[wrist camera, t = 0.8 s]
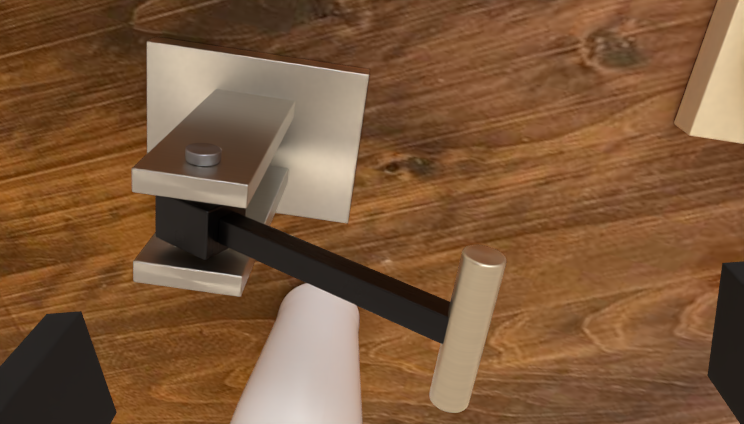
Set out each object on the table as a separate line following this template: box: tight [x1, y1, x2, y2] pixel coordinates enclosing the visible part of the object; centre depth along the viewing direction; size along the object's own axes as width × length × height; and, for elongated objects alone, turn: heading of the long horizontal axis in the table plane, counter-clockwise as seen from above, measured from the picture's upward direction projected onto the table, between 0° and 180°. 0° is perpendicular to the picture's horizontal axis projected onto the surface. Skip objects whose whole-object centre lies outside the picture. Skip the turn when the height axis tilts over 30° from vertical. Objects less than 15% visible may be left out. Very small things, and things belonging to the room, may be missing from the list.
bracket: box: [132, 37, 370, 297], centre depth 31 cm, size 12×9×14 cm
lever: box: [156, 195, 506, 413], centre depth 24 cm, size 14×6×2 cm, turn 81°
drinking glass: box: [230, 283, 363, 424], centre depth 36 cm, size 7×7×15 cm
